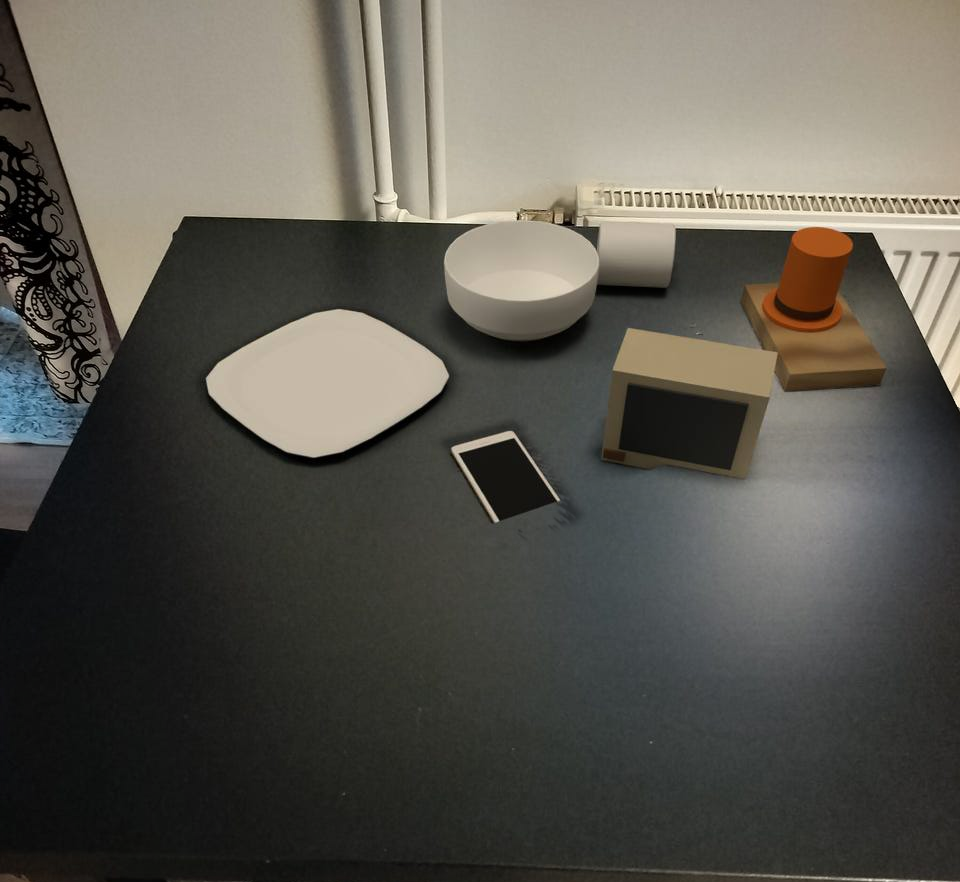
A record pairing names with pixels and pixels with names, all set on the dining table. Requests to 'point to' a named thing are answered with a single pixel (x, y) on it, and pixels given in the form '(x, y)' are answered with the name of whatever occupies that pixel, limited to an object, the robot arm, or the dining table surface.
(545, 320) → the bowl
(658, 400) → the television
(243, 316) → the dining table surface
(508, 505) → the cell phone
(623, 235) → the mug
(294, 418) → the plate
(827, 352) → the brown wooden board
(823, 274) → the hat
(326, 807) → the dining table surface
